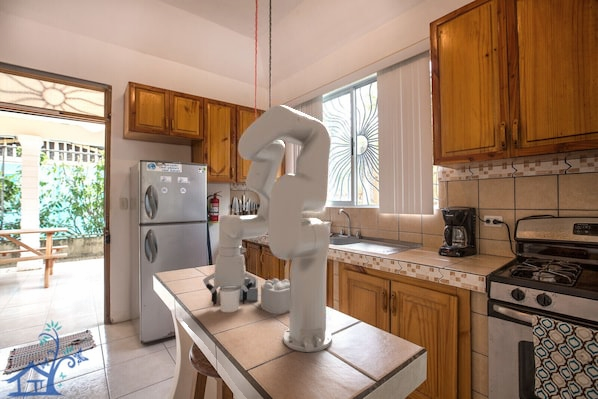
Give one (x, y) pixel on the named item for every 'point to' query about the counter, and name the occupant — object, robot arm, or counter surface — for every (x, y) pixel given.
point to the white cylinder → (229, 298)
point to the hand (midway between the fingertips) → (229, 303)
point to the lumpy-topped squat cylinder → (275, 296)
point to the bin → (248, 292)
